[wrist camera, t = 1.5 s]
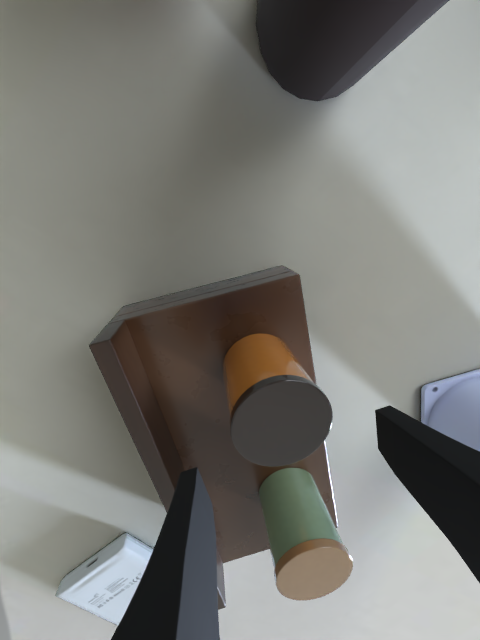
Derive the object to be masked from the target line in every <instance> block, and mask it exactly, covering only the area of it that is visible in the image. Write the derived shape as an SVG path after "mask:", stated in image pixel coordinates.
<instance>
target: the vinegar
mask: <svg viewBox="0 0 480 640" xmlns="http://www.w3.org/2000/svg"><path fill="white" fill-rule="evenodd" d="M448 1H449V0H258V3H257V17H256V28H257V33H258V39H259V45H260V51H261V54H262V56H263V58H264V61H265V63H266V65H267V67H268V70H269V72H270V73H271V75H272V76H273V77H274V78H275V79H276V81H277V82H278V83H279V84H280V85H281V87H282V88H283V89H285V90H286V91H288V92H290V93H291V94H293V95H295V96H296V97H298V98H300V99H306V100H313V101H320V100H324V99H329V98H333V97H337V96H338V95H340V94H341V93H343V92H344V91H346V90H347V89H349V88H350V87H352V86H353V85H354V84H355V83H356V82H358V81H359V80H360V79H361V78H362V77H363V76H364V75H365V74H367V73H368V72H369V71H370V70H371V69H372V68H373V67H374V66H376V65H377V64H378V63H379V62H380V61H381V60H382V59H383V58H385V57H386V56H387V55H388V54H389V53H390V52H391V51H393V50H394V49H395V48H396V47H397V46H398V45H399V44H400V43H402V42H403V41H404V40H405V39H406V38H407V37H408V36H409V35H411V34H412V33H413V32H414V31H415V30H416V29H417V28H418V27H420V26H421V25H422V24H423V23H424V22H425V21H426V20H428V19H429V18H430V17H431V16H432V15H433V14H434V13H435V12H437V11H438V10H439V9H440V8H441V7H442V6H443V5H444V4H446V3H447V2H448Z"/></svg>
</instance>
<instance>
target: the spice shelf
mask: <svg viewBox="0 0 480 640" xmlns="http://www.w3.org/2000/svg"><path fill="white" fill-rule="evenodd" d="M260 333H261V334H270V335H273V336H275V337H278V338H279V339H281V340H282V341H283V342H284V343H285V344H286V345H287V346H288V347H289V349H290V350H291V352H292V353H293V354H294V356H295V357H296V359H297V360H298V361H299V363H300V364H301V366H302V367H303V368H304V370H305V371H306V373H307V374H308V375H309V377H310V378H311V380H312V381H313V382H314V383H315V384H316V379H315V373H314V366H313V359H312V353H311V346H310V340H309V333H308V327H307V320H306V314H305V307H304V301H303V294H302V288H301V281H300V275H299V274H297V273H295V272H294V271H292V270H290V269H288V268H286V267H284V266H278V267H274V268H270V269H267V270H263V271H259V272H255V273H251V274H247V275H243V276H239V277H235V278H231V279H228V280H224V281H220V282H216V283H212V284H208V285H204V286H200V287H196V288H193V289H189V290H185V291H181V292H177V293H173V294H169V295H165V296H161V297H157V298H154V299H150V300H146V301H142V302H138V303H134V304H130V305H126V306H123V307H122V309H121V310H120V311H119V312H118V313H117V314H116V315H115V317H114V318H113V319H112V320H111V321H110V322H109V323H108V324H107V325H106V327H105V328H104V329H103V330H102V331H101V332H100V333H99V334H98V336H97V337H96V338H95V339H94V340H93V341H92V342H91V343H90V345H89V347H90V349H91V351H92V353H93V355H94V358H95V360H96V362H97V364H98V366H99V368H100V370H101V373H102V375H103V377H104V379H105V381H106V383H107V385H108V388H109V390H110V392H111V394H112V396H113V398H114V400H115V403H116V405H117V407H118V409H119V411H120V413H121V415H122V417H123V420H124V422H125V424H126V426H127V428H128V430H129V432H130V435H131V437H132V439H133V441H134V443H135V445H136V447H137V450H138V452H139V454H140V456H141V458H142V460H143V462H144V465H145V467H146V469H147V471H148V473H149V475H150V477H151V480H152V482H153V484H154V486H155V488H156V490H157V492H158V494H159V497H160V499H161V501H162V503H163V505H164V507H165V509H166V512H167V513H168V510H169V507H170V504H171V501H172V498H173V495H174V492H175V489H176V485H177V482H178V479H179V475H180V473H181V472H183V471H186V470H189V469H192V468H195V467H197V468H198V470H199V472H200V475H201V477H202V480H203V482H204V485H205V487H206V490H207V492H208V494H209V497H210V499H211V502H212V506H213V514H214V522H215V531H216V553H217V592H218V610H219V609H222V608H225V607H226V600H225V586H224V572H223V563H225V562H228V561H232V560H235V559H238V558H241V557H244V556H248V555H251V554H254V553H257V552H260V551H264V550H267V549H270V546H269V542H268V537H267V532H266V528H265V523H264V519H263V514H262V510H261V505H260V500H259V489H260V486H261V484H262V483H263V481H264V480H265V479H266V478H267V477H268V476H270V475H271V474H273V473H274V472H276V471H278V470H281V469H285V468H301V469H304V470H306V471H307V472H309V473H310V474H311V475H312V476H313V478H314V480H315V483H316V485H317V487H318V489H319V491H320V494H321V496H322V498H323V500H324V503H325V505H326V507H327V509H328V511H329V514H330V516H331V518H332V520H333V523H334V525H335V527H336V528H337V527H338V523H337V517H336V510H335V503H334V497H333V490H332V484H331V477H330V471H329V464H328V458H327V451H326V445H325V440H324V442H323V443H322V444H321V446H320V447H319V448H318V449H317V450H316V451H314V452H313V453H312V454H311V455H309V456H308V457H306V458H304V459H303V460H300V461H298V462H296V463H293V464H290V465H285V466H279V467H269V466H262V465H258V464H255V463H253V462H251V461H249V460H247V459H246V458H244V457H243V456H242V455H241V454H240V453H239V452H238V451H237V449H236V448H235V446H234V444H233V442H232V438H231V433H230V413H229V407H228V401H227V394H226V388H225V382H224V376H223V362H224V358H225V356H226V354H227V352H228V350H229V349H230V348H231V347H232V346H233V345H234V344H235V343H236V342H237V341H238V340H240V339H242V338H244V337H246V336H249V335H252V334H260Z"/></svg>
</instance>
